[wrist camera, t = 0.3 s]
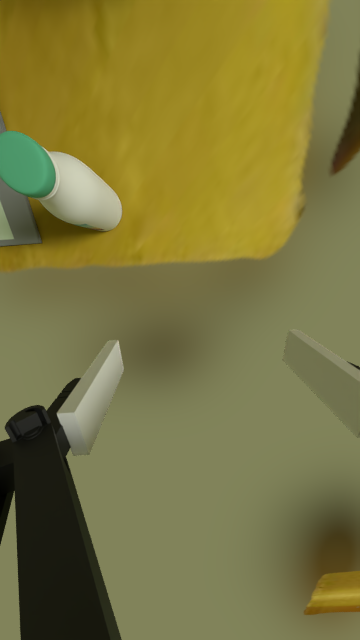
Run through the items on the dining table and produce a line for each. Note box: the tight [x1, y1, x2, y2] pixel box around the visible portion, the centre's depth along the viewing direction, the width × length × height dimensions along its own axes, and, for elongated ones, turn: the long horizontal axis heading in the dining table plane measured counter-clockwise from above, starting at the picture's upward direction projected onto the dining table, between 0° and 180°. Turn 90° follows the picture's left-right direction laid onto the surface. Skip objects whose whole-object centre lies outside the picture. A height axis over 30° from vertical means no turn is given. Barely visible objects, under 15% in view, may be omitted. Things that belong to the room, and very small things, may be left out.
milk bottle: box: [0, 131, 122, 231], centre depth 25 cm, size 8×8×20 cm
